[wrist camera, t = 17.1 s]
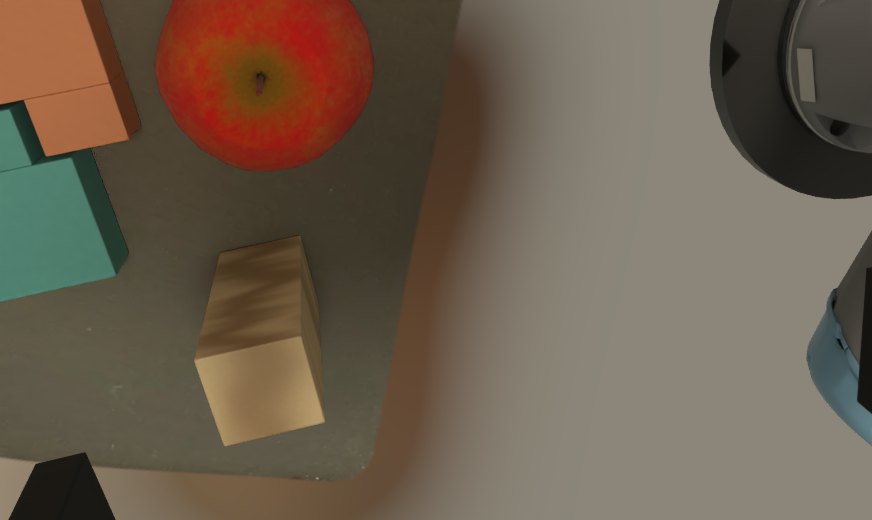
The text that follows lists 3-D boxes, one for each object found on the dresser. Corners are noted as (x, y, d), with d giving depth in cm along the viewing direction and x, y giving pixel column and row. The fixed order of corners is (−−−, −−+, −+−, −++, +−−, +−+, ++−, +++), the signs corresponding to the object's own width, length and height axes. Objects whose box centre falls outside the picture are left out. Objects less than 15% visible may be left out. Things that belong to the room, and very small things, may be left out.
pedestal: (300, 234, 48) (301, 335, 36) (318, 305, 50) (325, 422, 38) (219, 252, 47) (193, 360, 36) (241, 323, 49) (223, 447, 38)
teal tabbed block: (68, 87, 42) (49, 100, 39) (129, 252, 46) (116, 276, 43) (-64, 114, 42) (-93, 129, 38) (10, 278, 46) (-11, 304, 43)
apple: (163, -61, 40) (120, -57, 31) (372, -45, 42) (393, -36, 32) (174, 143, 44) (140, 203, 35) (364, 149, 46) (381, 207, 37)
